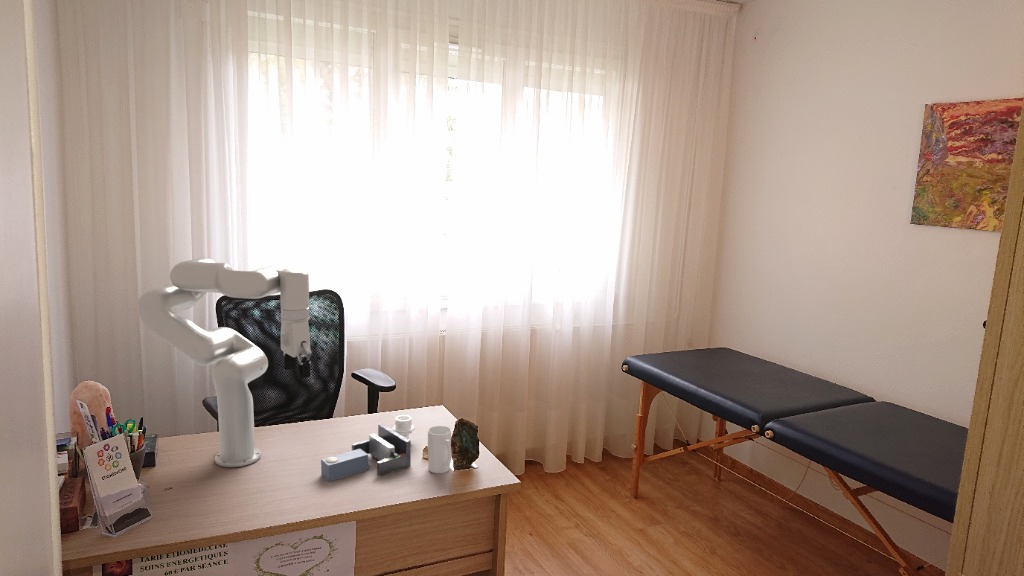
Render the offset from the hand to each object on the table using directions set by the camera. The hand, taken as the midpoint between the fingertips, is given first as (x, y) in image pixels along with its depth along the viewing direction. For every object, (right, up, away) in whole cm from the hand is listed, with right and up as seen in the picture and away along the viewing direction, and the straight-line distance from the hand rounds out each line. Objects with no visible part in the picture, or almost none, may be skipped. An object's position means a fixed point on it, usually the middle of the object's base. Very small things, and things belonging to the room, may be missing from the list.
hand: (297, 373), depth 185 cm
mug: (+40, -29, +5) cm, 50 cm away
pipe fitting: (+26, -25, +24) cm, 44 cm away
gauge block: (+13, -29, +3) cm, 32 cm away
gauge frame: (+22, -28, +10) cm, 36 cm away
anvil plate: (+23, -27, +9) cm, 37 cm away
